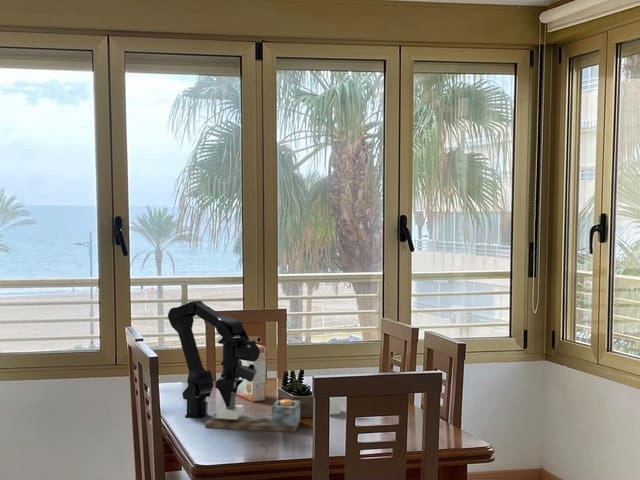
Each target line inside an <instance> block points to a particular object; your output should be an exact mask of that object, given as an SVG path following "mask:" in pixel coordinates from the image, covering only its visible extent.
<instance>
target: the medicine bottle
mask: <svg viewBox="0 0 640 480" xmlns="http://www.w3.org/2000/svg"><path fill="white" fill-rule="evenodd" d="M341 398H342V397H341ZM341 398H332V399H331V400H330V413H331V415H330V416H333V415H341V411H342V408H341V406H342V405H341V404H342V402H341V401H342V399H341Z"/></svg>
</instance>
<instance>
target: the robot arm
mask: <svg viewBox="0 0 640 480" xmlns="http://www.w3.org/2000/svg"><path fill="white" fill-rule="evenodd" d="M195 316H197V317H198V318H200V319H202V320H203V321H205V323H208V324H209V325H211V326H212V327H214V329H216V330H215V331H216V332H217V334H218V335H219V336H220V337H221V339H219V340H218V342H217V344H219V345H222V360H221V362H220V365H221V366H222V373H221V374H220V378H218V379H217V380H216V381H215V380H214V379H213V375H212V371H211V370H206V369H205V368H204V366H203V362H202V359H201V356H200V353H199V349H198V346H197V342H196V339H195V335H194V332H193V325H194V317H195ZM167 319H168V321H169V323H170V326H171V328H173V329H174V331H176V332H177V334H178V338H179V341H180V344H181V345H180V346H181V348H182V352H183V355H184V358H185V362H186V365H187V369H188V376H187V380H186V381H187V382H186V383H187V387H186V388H185V389H184V390H183V392H182V399H183V400H186V414H185V415H184V417H185V418H198V419H199V418H201V419H202V418H204V417H206V415H208V413H209V402H208V401H207V398H209V397H211V394H212V391H213V388H215V389H217V390H218V391H219V394H220V395H221V397H222V399H223V402H224V405H226V407H230V403H231V397H232V392H234V393H235V398H236V396H237V395H236V393H237V390H238V386H239V385H240V384H241V383H242V382H243V380H239V379H240V378H239V377H241V378H242V379H246V380H247V381H250V382H252V380H254V377H255V375H256V372H257V371H256V370H255V365H253V364H250V365H249V366H248V367H247V366H244V365H242V361H241V360H245V361H251V362H254V361H256V360H257V359H258V357H259V354H260V350H259V347H258V346H257V345H256V344H257V342H256V340H250V338H249V336H248V333H247V332H246V330H245V328H244V326H243V322H242V321H241V320H239V319H236V318H233V317H229V316H224V315H222V314H221V313H220V312H218V311H216V310H214V309H213V308H211V307H210V306H209V305H207V304H205V303H204V302H203V301H201V300H191V301H189V302H186V303H184V304H183V305H179V306H177V307H175V306H174V307H172V308H170V310H168V313H167Z"/></svg>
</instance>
